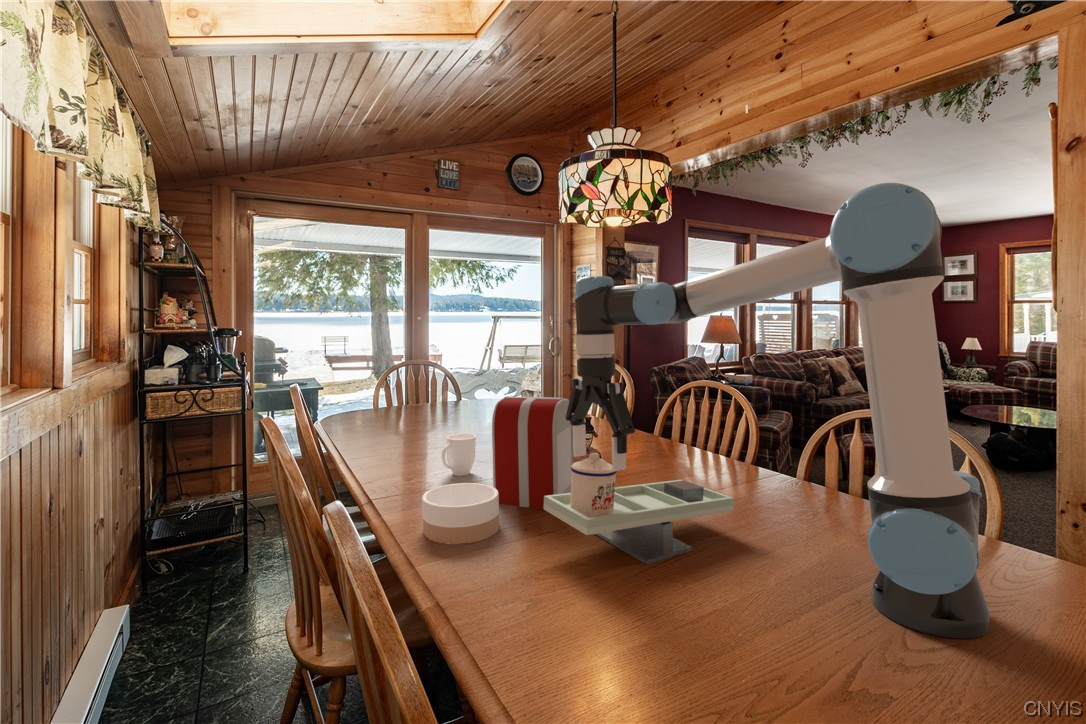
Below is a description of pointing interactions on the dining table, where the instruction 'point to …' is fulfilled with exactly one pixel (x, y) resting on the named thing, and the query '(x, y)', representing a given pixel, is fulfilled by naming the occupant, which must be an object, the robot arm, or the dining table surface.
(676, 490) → the block
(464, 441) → the mug
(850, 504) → the dining table surface
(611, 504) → the teacup with lid
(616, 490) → the divided tray
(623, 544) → the fulcrum
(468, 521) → the bowl
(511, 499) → the red striped block
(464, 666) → the dining table surface
